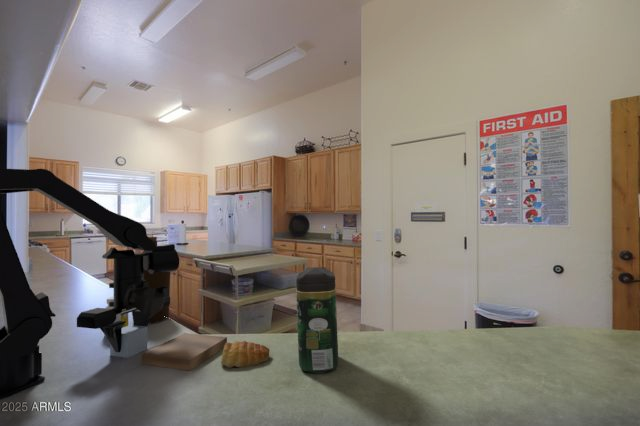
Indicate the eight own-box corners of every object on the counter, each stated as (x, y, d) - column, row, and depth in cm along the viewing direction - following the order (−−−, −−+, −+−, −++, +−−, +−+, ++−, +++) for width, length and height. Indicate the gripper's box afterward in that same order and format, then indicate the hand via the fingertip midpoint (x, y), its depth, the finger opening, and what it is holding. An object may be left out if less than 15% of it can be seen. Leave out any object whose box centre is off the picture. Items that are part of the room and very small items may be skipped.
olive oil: (176, 313, 97) (175, 235, 98) (161, 324, 86) (160, 237, 87) (142, 315, 96) (142, 236, 97) (123, 326, 86) (122, 238, 87)
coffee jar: (299, 353, 64) (297, 265, 65) (337, 352, 64) (334, 264, 65) (296, 376, 55) (293, 272, 55) (340, 374, 55) (336, 271, 55)
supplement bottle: (132, 329, 82) (132, 294, 83) (122, 337, 77) (122, 299, 78) (110, 331, 82) (110, 295, 82) (99, 338, 76) (99, 300, 77)
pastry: (270, 352, 66) (269, 334, 66) (268, 367, 59) (268, 347, 59) (225, 356, 64) (225, 337, 65) (219, 371, 58) (218, 351, 58)
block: (127, 357, 64) (127, 334, 65) (110, 355, 66) (110, 332, 66) (147, 348, 69) (147, 326, 69) (130, 346, 71) (130, 324, 71)
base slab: (189, 370, 58) (189, 360, 58) (141, 363, 61) (141, 353, 61) (227, 346, 69) (226, 337, 69) (184, 341, 73) (184, 333, 73)
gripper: (116, 286, 57) (116, 371, 56) (187, 271, 75) (188, 335, 74) (74, 284, 60) (74, 364, 60) (152, 270, 78) (152, 331, 77)
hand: (129, 347), depth 68 cm, fingers closed on block, 5 cm apart
